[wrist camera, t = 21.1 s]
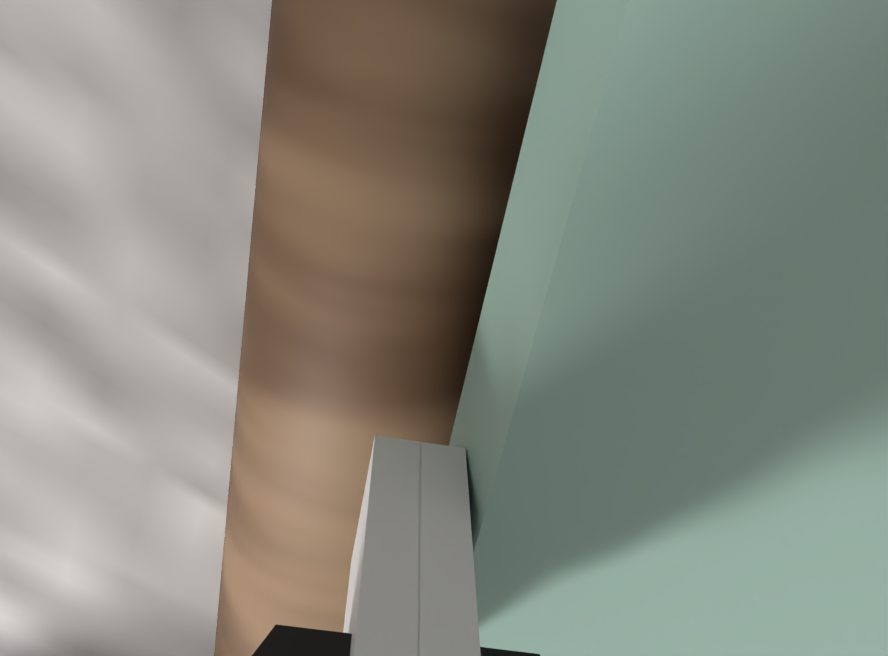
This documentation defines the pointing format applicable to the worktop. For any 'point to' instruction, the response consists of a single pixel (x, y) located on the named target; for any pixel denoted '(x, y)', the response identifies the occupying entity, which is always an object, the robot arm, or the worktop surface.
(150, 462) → the worktop surface
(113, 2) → the worktop surface
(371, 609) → the robot arm
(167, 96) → the worktop surface
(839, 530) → the slab
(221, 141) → the worktop surface
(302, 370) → the roller bed
